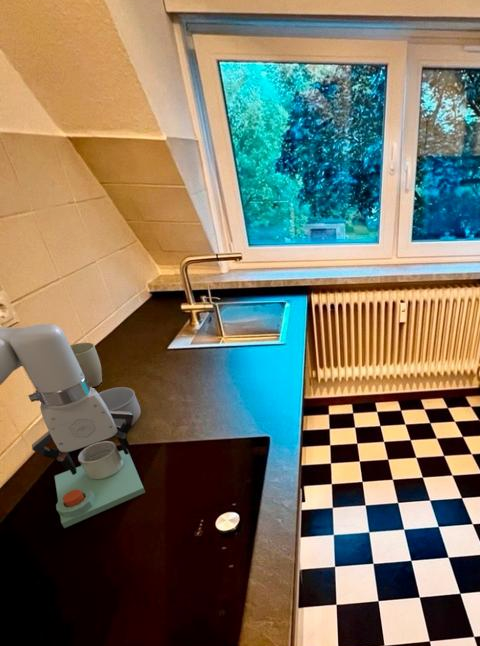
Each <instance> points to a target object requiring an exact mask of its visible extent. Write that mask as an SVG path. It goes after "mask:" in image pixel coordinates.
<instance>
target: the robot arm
mask: <svg viewBox="0 0 480 646" xmlns="http://www.w3.org/2000/svg"><path fill="white" fill-rule="evenodd" d="M70 345H71V344H70V342H69V340H68V338H67V336H66V334H65V332H64V330H63V329H62V328H61V327H60V326H59V325H56V324H52V323H39V324H38V323H37V324H33V325H29V326H26V327H5V326H4V327H3V326H2V327H1V326H0V386H1V385H2V384H4V382H5V381H6V380H7V379H8V378H9V377H10V375H11V374H12V373H13V372H14V371H16V370H17V369H20V368H21V367H23V369H24V370H25V372H26V374H27V376H28V378H29V380H30V381H31V383H32V385H33V387H34V388H35V391H34V392H33V393H31V394H28V399H29V400H30V402H31V403H32V402H40V407H39V408H40V413H41V416H42V419H43V422H44V424H45V426H46V428H47V430H48V431H47V432H45V433H44V434H43V435H42V436H40V437H39V438H38V439H36V441H35V442H33V443H32V444H31V449H32V451H34V452H36V453H37V454H39V455H41V456H42V455H43V457H44V458H49V459H53V460H56V461H57V462H60V464H62V466H63V468H64V470H65V472H66V471H69V470H70V471H71V473H72V474H73V475H74V474H76V473H77V471H76V468H77V467H76V464H75V463H74V461H73V459H72V457H71V456H70V454H69V453H70V452H74V451H76V450H80V449H82V448H83V449H84V448H87V447H88V446H90V445H92V444H95V443H98V442H103V441H106V440H108V439H110V438H112V437H117V440H118V442H119V444H120V446H121V449H122V450H123V451H124V453H125V454H126V455H127V454H130V451H129V450H127V449H129V448H131V446H130V443H129V441H128V438H127V437H128V433H129V431H130V430H131V429H132V426H133V425H131V424H132V421H133V414H132V412H123V411H109V410H108V408H107V406H106V404H105V403H104V401H103V400H102V398H101V397H100V395H99V394H98V393H99V392H98V391H97V390H96V388H92V387H89V385H88V383H87V380H86V378H85V376H84V374H83V372H82V370H81V368H80V365H79V363H78V361H77V359H76V357H75V355H74V353H73V351H72V348H71V346H70ZM113 419H125V420H124V423H123V424H122V426H121V427H119V426H117V425H115V422H114V420H113ZM51 441H53V443H54V444H55V446H56V448H52V447H47V445H48V444H49V443H50V442H51Z"/></svg>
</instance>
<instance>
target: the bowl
mask: <svg viewBox="0 0 480 646" xmlns="http://www.w3.org/2000/svg"><path fill="white" fill-rule="evenodd" d="M119 451H120V450H118V447H117V445H116V443H115V442H113V441H111V440H110V441H109V440H102V441H100V442H97V443H94V444H91V445H88V446H86V447H84V448H83V449H82V450H81V451H80V452H79V454H78V455H77V460H78V462H79V464H80V466H82V467H83V469H84V471H85V473H86V475H87V476H88V477H89V478H91V479H104V478H107V477H110V476H112V475H114V474H115V473H117V472H118V471H119V470H120V468H121V467H122V465H123V460H122V457H121V455H120V453H119Z"/></svg>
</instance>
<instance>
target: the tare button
mask: <svg viewBox="0 0 480 646" xmlns="http://www.w3.org/2000/svg"><path fill="white" fill-rule="evenodd" d="M83 500H84V495H83V494H82V492H81V491H80V490H73V491H70V492H68V493H67V494H65V495H64V497H63V501H64V503H65V504H66V506H68V507H73V506H76V505H78V504H80V503H81V502H82V501H83Z"/></svg>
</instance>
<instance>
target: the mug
mask: <svg viewBox="0 0 480 646" xmlns="http://www.w3.org/2000/svg"><path fill="white" fill-rule="evenodd" d="M70 346H71V348H72V351H73V353H74V355H75V357H76V359H77V361H78V363H79V365H80V368H81V370H82V372H83V374H84V376H85V378H86V380H87V383H88V385H89V387H94V386H97V385H99V384H100V383H101V382H102V383H103V378H102V377H103V374H102V373H103V372H102V365H101V364H102V363H101V360H100V357H99V355H98V352H97V349H96V346H95V344H94V343H92V342H79V343H74V344H70Z"/></svg>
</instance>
